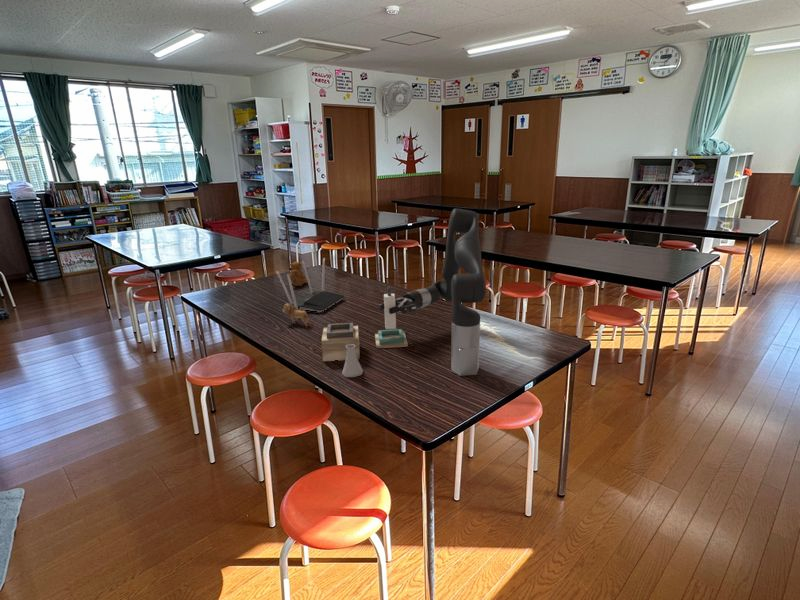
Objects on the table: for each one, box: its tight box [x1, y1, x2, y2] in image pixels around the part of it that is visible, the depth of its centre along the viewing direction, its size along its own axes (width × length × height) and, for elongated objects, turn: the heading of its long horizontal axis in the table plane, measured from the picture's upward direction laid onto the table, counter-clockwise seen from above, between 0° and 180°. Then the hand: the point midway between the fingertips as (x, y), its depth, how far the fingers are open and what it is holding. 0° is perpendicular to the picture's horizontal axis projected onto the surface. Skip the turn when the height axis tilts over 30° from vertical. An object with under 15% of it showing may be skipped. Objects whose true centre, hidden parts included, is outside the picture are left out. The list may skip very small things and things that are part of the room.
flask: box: [341, 344, 364, 378], centre depth 150 cm, size 7×7×10 cm
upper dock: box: [321, 322, 361, 362], centre depth 166 cm, size 13×13×10 cm
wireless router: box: [275, 257, 345, 313], centre depth 220 cm, size 34×23×20 cm
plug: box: [383, 286, 397, 330], centre depth 172 cm, size 4×4×16 cm
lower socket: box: [374, 328, 409, 349], centre depth 176 cm, size 12×12×3 cm
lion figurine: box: [281, 303, 314, 327], centre depth 196 cm, size 15×5×9 cm, turn 67°
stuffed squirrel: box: [288, 261, 308, 287], centre depth 256 cm, size 10×14×13 cm
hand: (384, 309), depth 171 cm, fingers closed on plug, 5 cm apart
